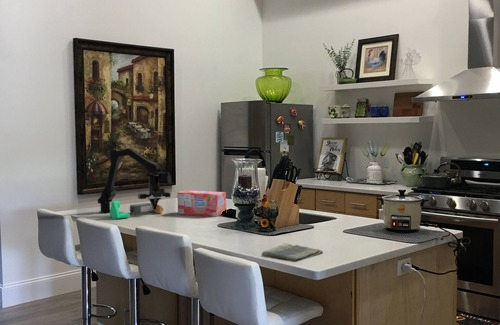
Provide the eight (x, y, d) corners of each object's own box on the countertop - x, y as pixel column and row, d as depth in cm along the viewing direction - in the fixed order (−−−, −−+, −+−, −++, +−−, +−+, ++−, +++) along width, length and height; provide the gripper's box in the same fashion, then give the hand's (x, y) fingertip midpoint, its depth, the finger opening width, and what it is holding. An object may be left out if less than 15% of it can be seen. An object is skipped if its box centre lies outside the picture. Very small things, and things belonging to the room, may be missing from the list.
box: (227, 213, 336) (226, 190, 335) (216, 217, 324) (216, 193, 323) (188, 211, 347) (187, 189, 346) (177, 215, 336) (176, 191, 335)
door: (160, 214, 339) (160, 206, 338) (154, 212, 348) (153, 204, 348) (163, 213, 340) (163, 205, 339) (156, 211, 349) (156, 203, 349)
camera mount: (130, 218, 327) (129, 200, 326) (117, 220, 322) (117, 202, 322) (121, 216, 336) (121, 198, 336) (109, 217, 332) (108, 200, 331)
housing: (128, 213, 346) (128, 204, 346) (149, 210, 354) (149, 202, 354) (133, 214, 340) (132, 205, 340) (154, 211, 348) (154, 203, 348)
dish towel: (296, 263, 215) (296, 255, 215) (260, 256, 227) (260, 249, 227) (324, 254, 229) (324, 246, 229) (289, 248, 241) (289, 241, 241)
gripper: (142, 185, 330) (143, 212, 331) (173, 184, 338) (173, 210, 339) (137, 184, 340) (138, 210, 341) (167, 182, 348) (167, 207, 349)
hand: (154, 209), depth 342 cm, fingers closed
